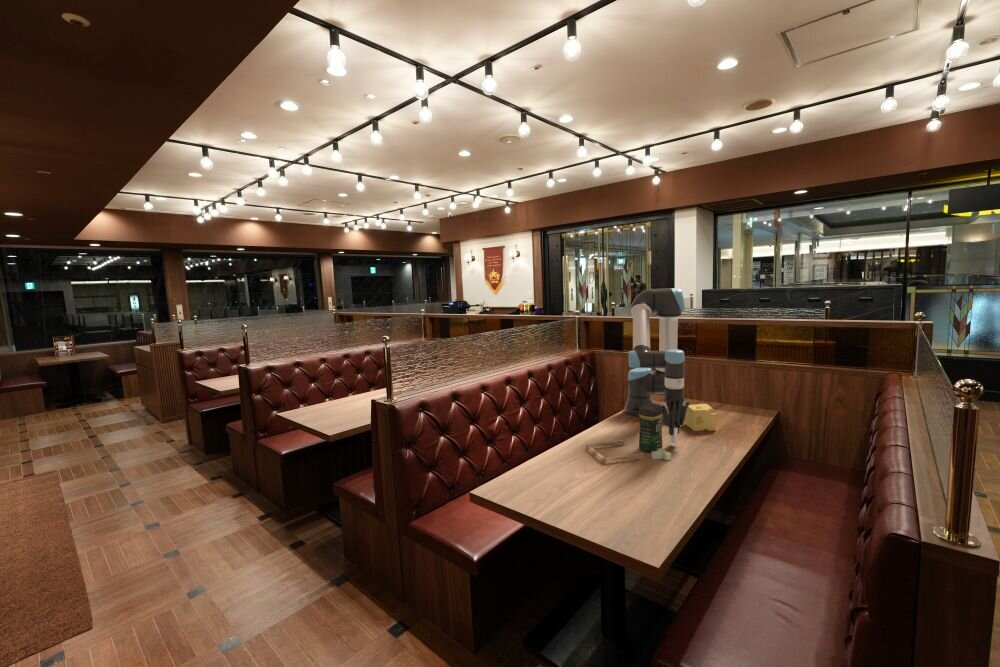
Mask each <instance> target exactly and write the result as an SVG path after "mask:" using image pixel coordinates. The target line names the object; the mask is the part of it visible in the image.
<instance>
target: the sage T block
mask: <svg viewBox="0 0 1000 667" xmlns="http://www.w3.org/2000/svg"><path fill="white" fill-rule="evenodd" d="M650 454H651V455H650V457H651V459H653V460H660V459H663V460H666V461H670V460H672V453H671V452H669V451H668V450H666V449H664V448H663V447H662V448H659V449H657V451H654V452H650Z"/></svg>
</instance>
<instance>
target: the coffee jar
mask: <svg viewBox="0 0 1000 667" xmlns="http://www.w3.org/2000/svg"><path fill="white" fill-rule="evenodd" d="M638 417H639V440H638V447H639V449H641V450H642V451H644V452H650V453H651V452H654V451H657V449H659V448H663V445H664V444H663V427H662V422H663V415H662V407H661V406H660V404H658V403H654V402H653V403H651V404H648V405H646V406H643V407H641V408H640V409H639V416H638Z"/></svg>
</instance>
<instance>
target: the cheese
mask: <svg viewBox="0 0 1000 667" xmlns="http://www.w3.org/2000/svg"><path fill="white" fill-rule="evenodd" d="M716 419H717V415H716V414H715V410H714V409H713V407H711V405H709V404H707V403H699V404H698V403H697V404H689V406H688V408H687V411H686V415H685V420H684V424H685V425H686V426H687V427H688V428H690V429H691V430H692V431H694V432H704V431H709V432H710V431H712V432H713V431H717V422H716Z"/></svg>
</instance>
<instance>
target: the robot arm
mask: <svg viewBox="0 0 1000 667" xmlns="http://www.w3.org/2000/svg"><path fill="white" fill-rule="evenodd" d="M684 299H685V298H684V294H683V291H682V289H680V288H675V287H674V288H671V287H670V288H649V289H644V290H643V291H641V292H640V293H638V294H637V295H636V296H635V298H634V299H633V301H632V303H631V305H630V314H631V316H632V350H628V355H627V356H628V366H629V367H630V368H633V369H630V370H629V371H628V372H627V373H628V374H627V388H628V389H627V399H626V402H625V406H624V413H626V414H627V415H629V416H636V417H639V409H640V408H641V407H643V406H646V405H648V404H651V403H653V404H654V402H653V399H652V394H656V395H657V394H658V395H659V394H661V395H664V401H663V402H662V403H659V405H660V406H661V407H662V421H663V424H664V426H666V427H667V428H668V435H669V437H670V439H669V441H670V442H671V443H672V444H678V441H679V440H678V436H679V434H680V429H681V427H682V426H684V424H685V415H686V411H687V408H688V406H689V405H690V402H688V401H685V399H684V396H685V388H684V387H685V360H686V359H685V352H684V350H683V349H682V350H681V349H678V332H679V331H678V329H679V328H678V327H679V318H681V317H682V313H684V312H685V311H686V310H685V300H684ZM652 313H655V315H656V317H657V318H658V320H659V328H658V330H659V332H658V335H659V336H658V338H659V340H658V342H659V343H658V346H659V348H658V350H651V329H650V326H651V325H650V324H651V323H650V315H651V314H652ZM652 369H655V370H652Z"/></svg>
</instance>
